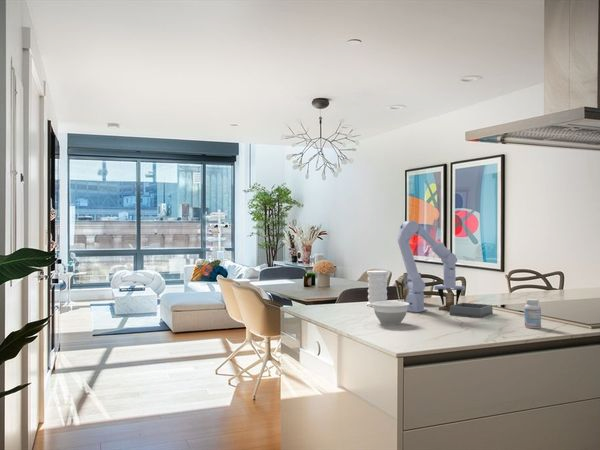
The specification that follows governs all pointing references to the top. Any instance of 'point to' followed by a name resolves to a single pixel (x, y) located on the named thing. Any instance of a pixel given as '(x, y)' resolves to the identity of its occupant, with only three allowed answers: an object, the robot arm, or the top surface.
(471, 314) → the tray
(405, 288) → the coffee box
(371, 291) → the decorative container
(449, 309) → the collar holder
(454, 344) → the top surface
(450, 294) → the dowel
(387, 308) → the bowl
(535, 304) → the pill bottle
